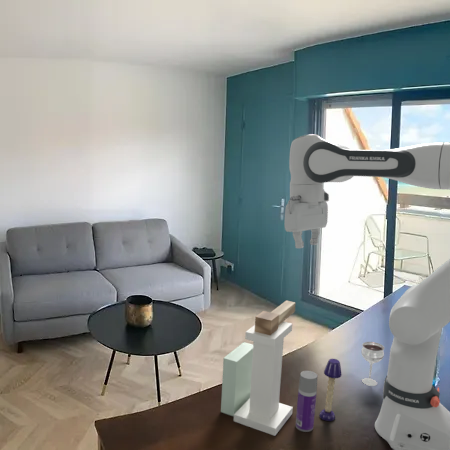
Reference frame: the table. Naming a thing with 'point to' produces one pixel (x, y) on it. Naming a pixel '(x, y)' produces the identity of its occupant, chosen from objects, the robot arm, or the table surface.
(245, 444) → the table surface
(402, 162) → the robot arm
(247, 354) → the pale green rectangular block
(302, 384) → the container
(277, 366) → the white i-beam pillar
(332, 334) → the table surface
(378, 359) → the wineglass
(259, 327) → the tan long block
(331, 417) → the toy lamp
